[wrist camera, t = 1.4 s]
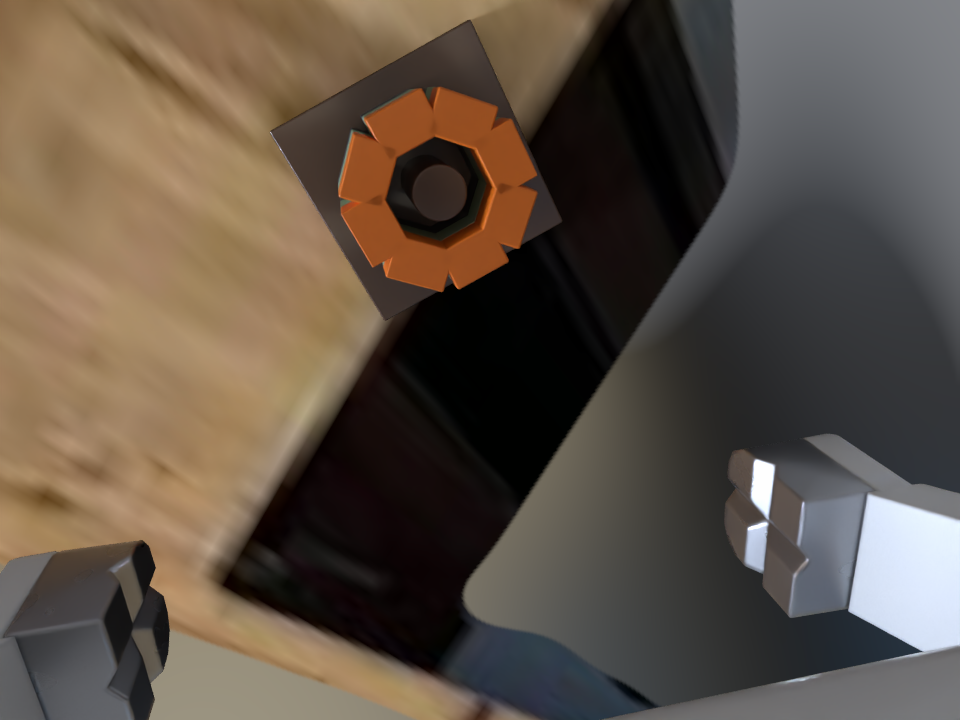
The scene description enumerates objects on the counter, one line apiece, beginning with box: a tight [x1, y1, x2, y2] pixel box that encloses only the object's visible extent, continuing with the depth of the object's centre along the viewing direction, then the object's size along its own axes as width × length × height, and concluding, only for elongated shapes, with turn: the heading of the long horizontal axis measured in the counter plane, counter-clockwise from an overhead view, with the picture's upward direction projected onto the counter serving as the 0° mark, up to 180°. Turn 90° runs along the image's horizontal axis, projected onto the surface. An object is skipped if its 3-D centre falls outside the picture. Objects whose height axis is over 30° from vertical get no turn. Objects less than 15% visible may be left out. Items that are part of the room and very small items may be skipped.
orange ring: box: [338, 87, 538, 292], centre depth 26 cm, size 7×7×2 cm
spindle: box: [270, 20, 562, 320], centre depth 28 cm, size 9×9×6 cm
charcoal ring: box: [338, 88, 479, 233], centre depth 29 cm, size 7×7×2 cm
